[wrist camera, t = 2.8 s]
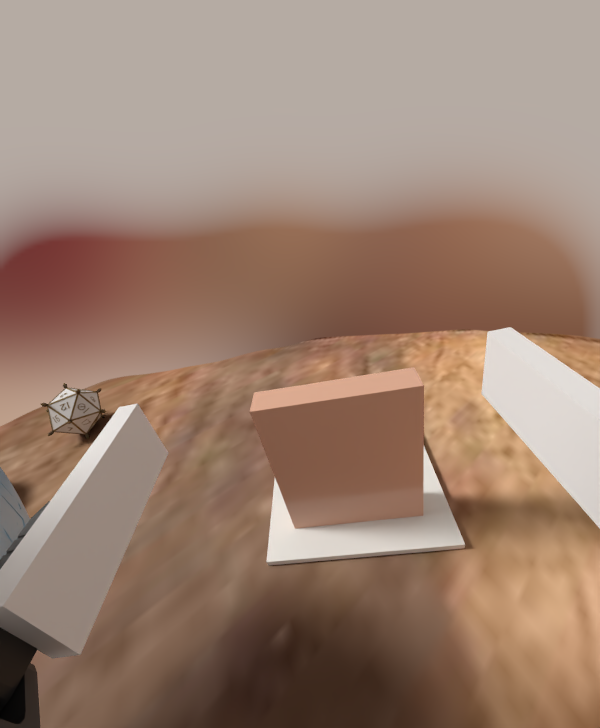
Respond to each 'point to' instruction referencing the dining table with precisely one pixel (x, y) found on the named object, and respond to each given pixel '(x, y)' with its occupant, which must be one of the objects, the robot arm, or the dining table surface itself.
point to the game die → (74, 411)
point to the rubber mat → (366, 531)
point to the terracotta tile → (346, 447)
